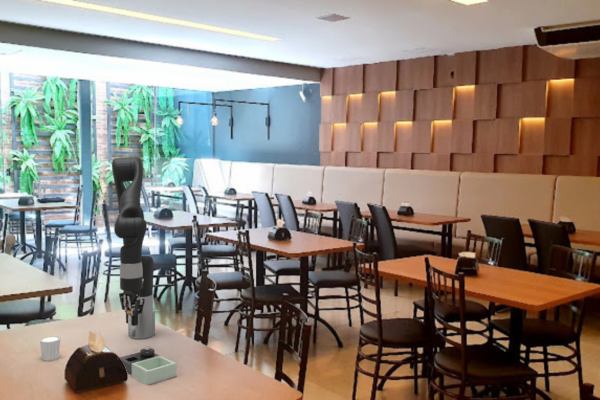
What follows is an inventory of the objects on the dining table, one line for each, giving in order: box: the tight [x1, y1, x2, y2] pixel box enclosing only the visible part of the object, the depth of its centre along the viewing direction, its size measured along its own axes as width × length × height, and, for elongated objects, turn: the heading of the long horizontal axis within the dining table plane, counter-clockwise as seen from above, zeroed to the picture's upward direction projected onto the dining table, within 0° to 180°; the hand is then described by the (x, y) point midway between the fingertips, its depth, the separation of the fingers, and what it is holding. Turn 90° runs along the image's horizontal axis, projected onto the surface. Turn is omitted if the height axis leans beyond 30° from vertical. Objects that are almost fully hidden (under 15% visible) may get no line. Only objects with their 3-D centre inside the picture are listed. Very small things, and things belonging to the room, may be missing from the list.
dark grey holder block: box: [118, 346, 161, 376], centre depth 202 cm, size 12×9×6 cm
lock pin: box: [127, 309, 136, 338], centre depth 198 cm, size 3×3×9 cm
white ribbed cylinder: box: [39, 336, 61, 362], centre depth 209 cm, size 7×7×7 cm
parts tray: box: [131, 355, 177, 386], centre depth 193 cm, size 11×10×4 cm
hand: (131, 323), depth 198 cm, fingers closed on lock pin, 3 cm apart
